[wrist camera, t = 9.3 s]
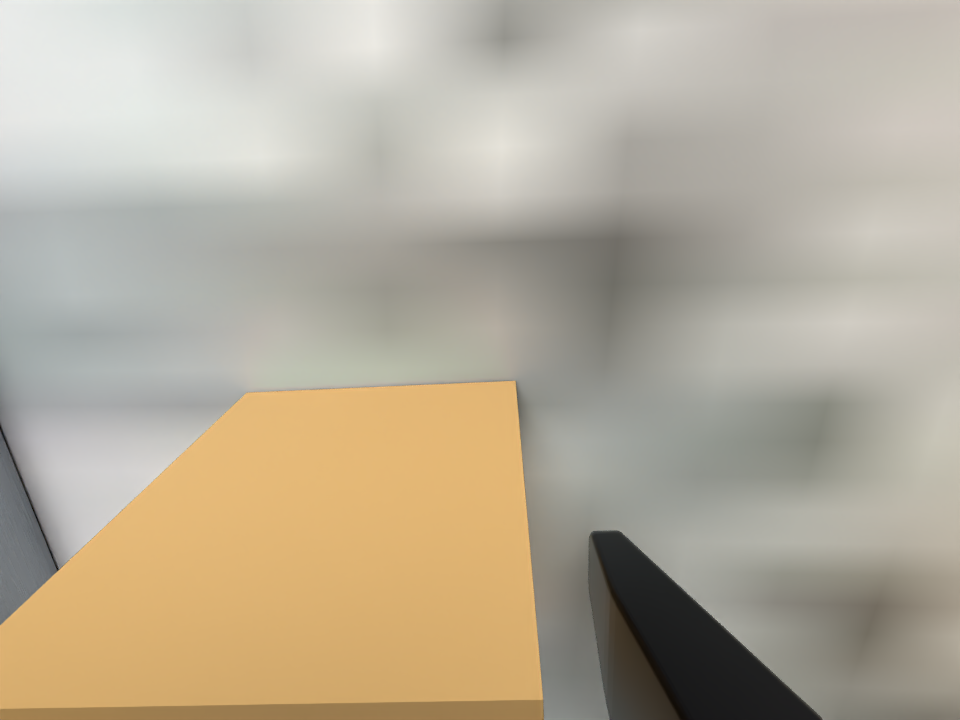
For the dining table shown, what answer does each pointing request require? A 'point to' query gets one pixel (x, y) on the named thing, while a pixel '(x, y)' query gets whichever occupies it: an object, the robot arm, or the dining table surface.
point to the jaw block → (303, 573)
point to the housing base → (19, 542)
